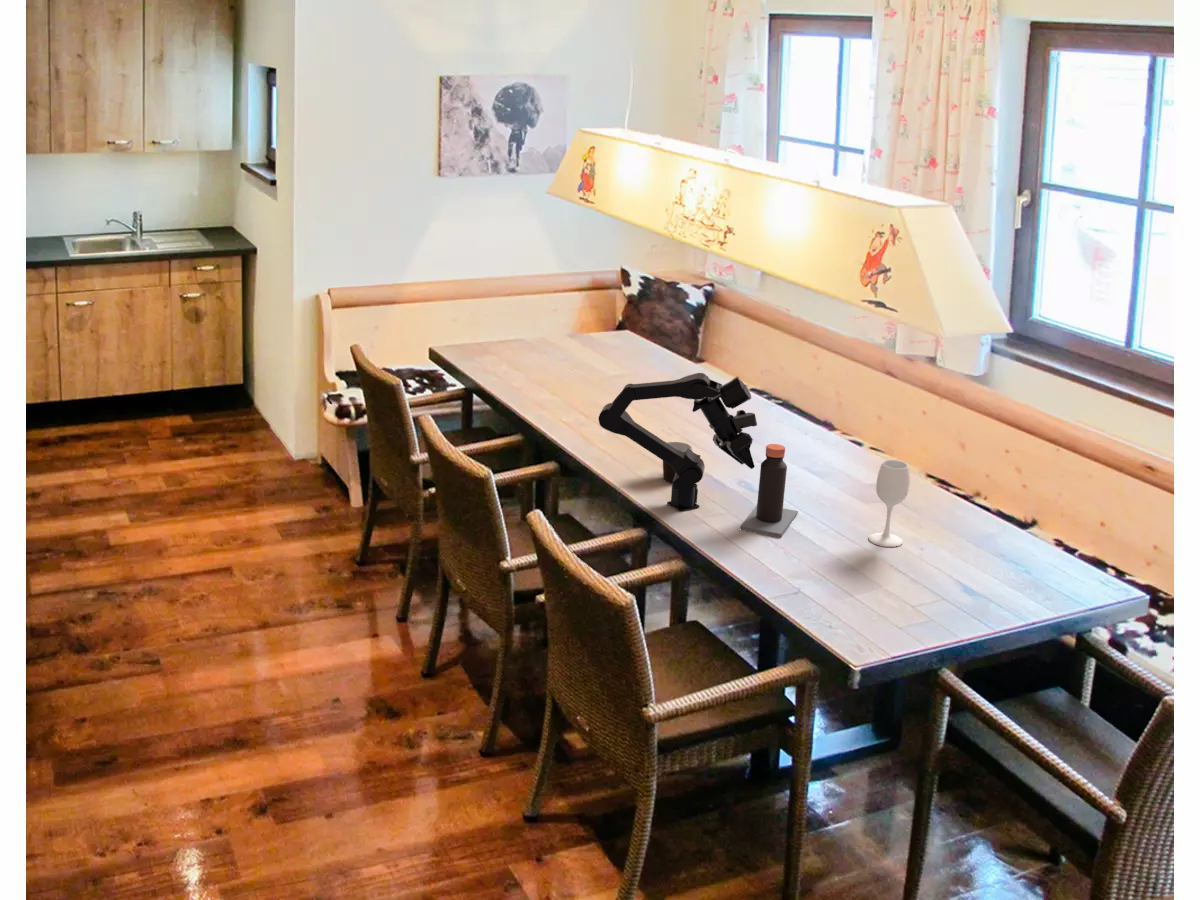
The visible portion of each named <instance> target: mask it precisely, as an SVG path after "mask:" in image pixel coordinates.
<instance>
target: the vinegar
mask: <svg viewBox="0 0 1200 900" xmlns="http://www.w3.org/2000/svg"><path fill="white" fill-rule="evenodd" d="M785 452H786V446H784V445H782V444H778V443H770V444H767V445H766V446H765V459H764V460H763V461H761V463H760V470H759V472H760V473H759V482H758V483H759V484H758V492H757V503H756V506H757V513H756V517H757V518H758V519H759V520H760V521H763V522H769V523H774V522H779V521H780V520H781V519H782V512H783V508H784V501H785V500H784V499H785V490H786V479H787V470H788V466H787V464H786V462H785V461H784V458H785V454H786V453H785Z"/></svg>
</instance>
